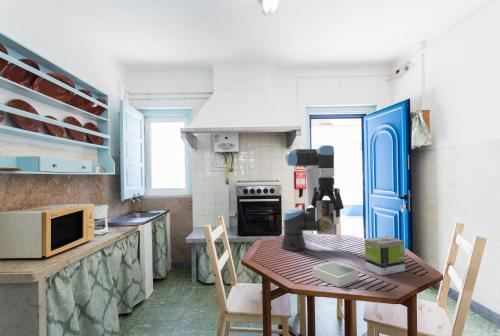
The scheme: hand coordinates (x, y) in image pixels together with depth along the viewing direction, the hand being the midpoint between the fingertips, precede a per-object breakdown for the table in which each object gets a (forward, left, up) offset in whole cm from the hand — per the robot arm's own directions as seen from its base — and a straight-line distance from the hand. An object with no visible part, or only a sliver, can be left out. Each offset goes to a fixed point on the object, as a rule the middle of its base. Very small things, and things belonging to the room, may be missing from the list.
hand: (326, 222), depth 134 cm
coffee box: (0, 0, -6) cm, 6 cm away
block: (+10, -6, -23) cm, 25 cm away
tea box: (+18, +21, -23) cm, 36 cm away
